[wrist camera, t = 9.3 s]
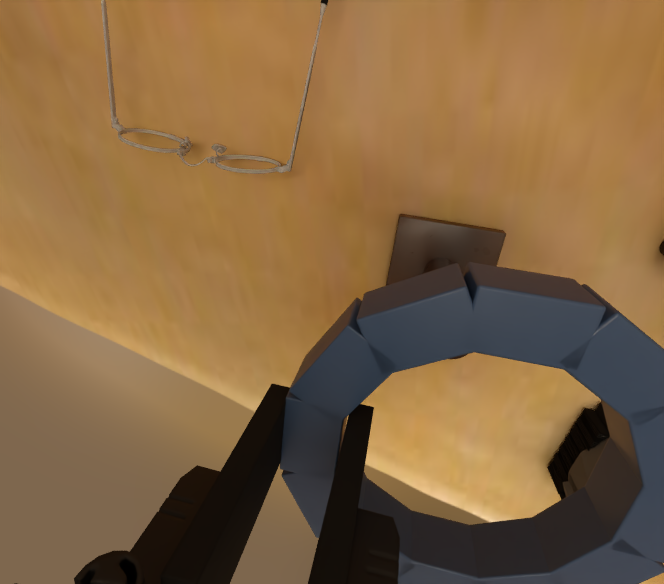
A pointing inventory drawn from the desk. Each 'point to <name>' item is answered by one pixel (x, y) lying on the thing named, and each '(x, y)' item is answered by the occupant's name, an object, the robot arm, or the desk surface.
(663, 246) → the end cap
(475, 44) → the desk surface
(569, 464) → the cpu cooler
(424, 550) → the dark blue segmented ring
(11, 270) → the desk surface
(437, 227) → the stand
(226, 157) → the eyeglasses
